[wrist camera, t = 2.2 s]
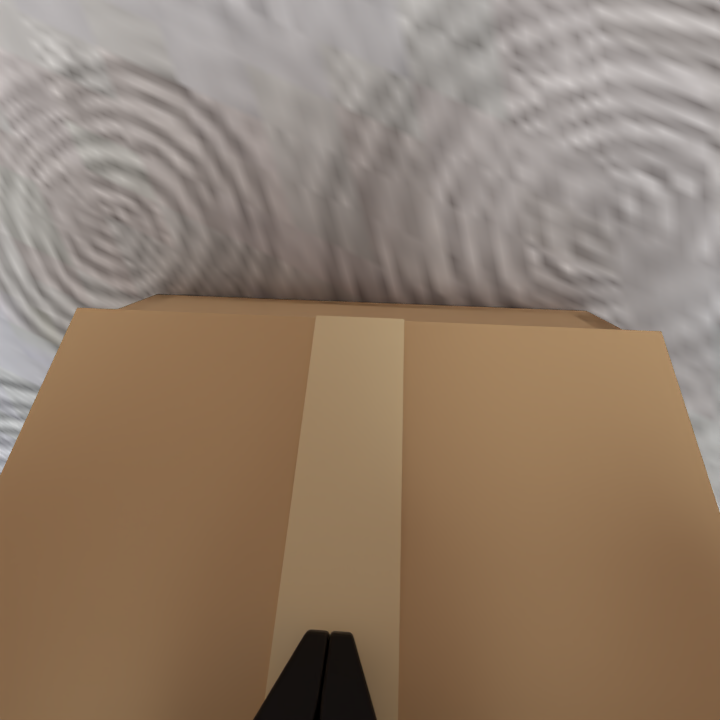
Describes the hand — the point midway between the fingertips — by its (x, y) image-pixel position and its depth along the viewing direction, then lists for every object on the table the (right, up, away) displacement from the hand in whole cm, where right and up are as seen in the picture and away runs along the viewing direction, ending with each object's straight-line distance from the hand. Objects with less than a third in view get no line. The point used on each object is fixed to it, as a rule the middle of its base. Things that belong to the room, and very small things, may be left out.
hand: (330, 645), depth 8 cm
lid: (0, +2, +2) cm, 3 cm away
